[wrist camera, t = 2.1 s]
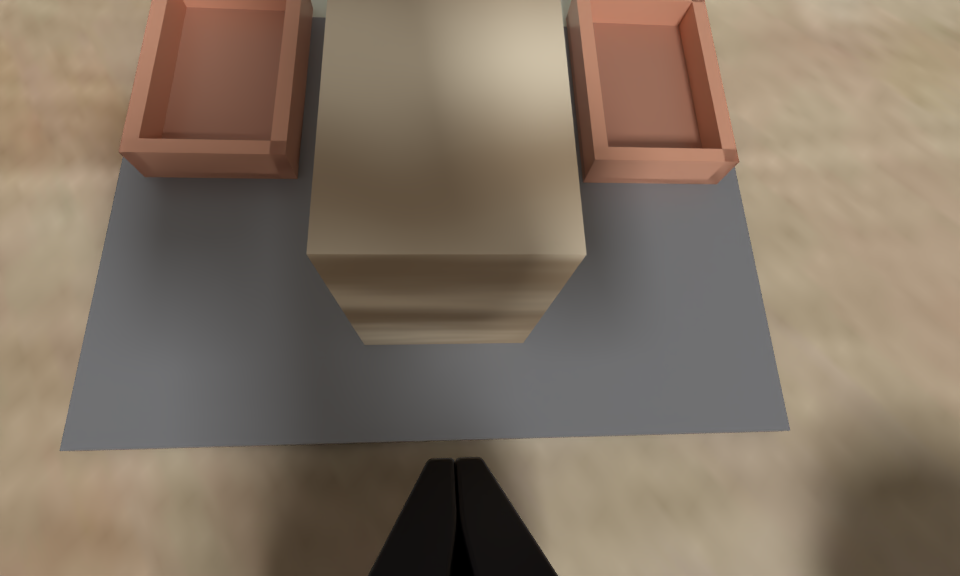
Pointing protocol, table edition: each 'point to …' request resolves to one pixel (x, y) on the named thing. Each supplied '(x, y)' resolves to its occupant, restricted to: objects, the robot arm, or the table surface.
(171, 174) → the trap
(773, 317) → the table surface
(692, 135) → the pink shallow tray
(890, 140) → the table surface
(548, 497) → the table surface
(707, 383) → the board
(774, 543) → the table surface
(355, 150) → the birch beam
